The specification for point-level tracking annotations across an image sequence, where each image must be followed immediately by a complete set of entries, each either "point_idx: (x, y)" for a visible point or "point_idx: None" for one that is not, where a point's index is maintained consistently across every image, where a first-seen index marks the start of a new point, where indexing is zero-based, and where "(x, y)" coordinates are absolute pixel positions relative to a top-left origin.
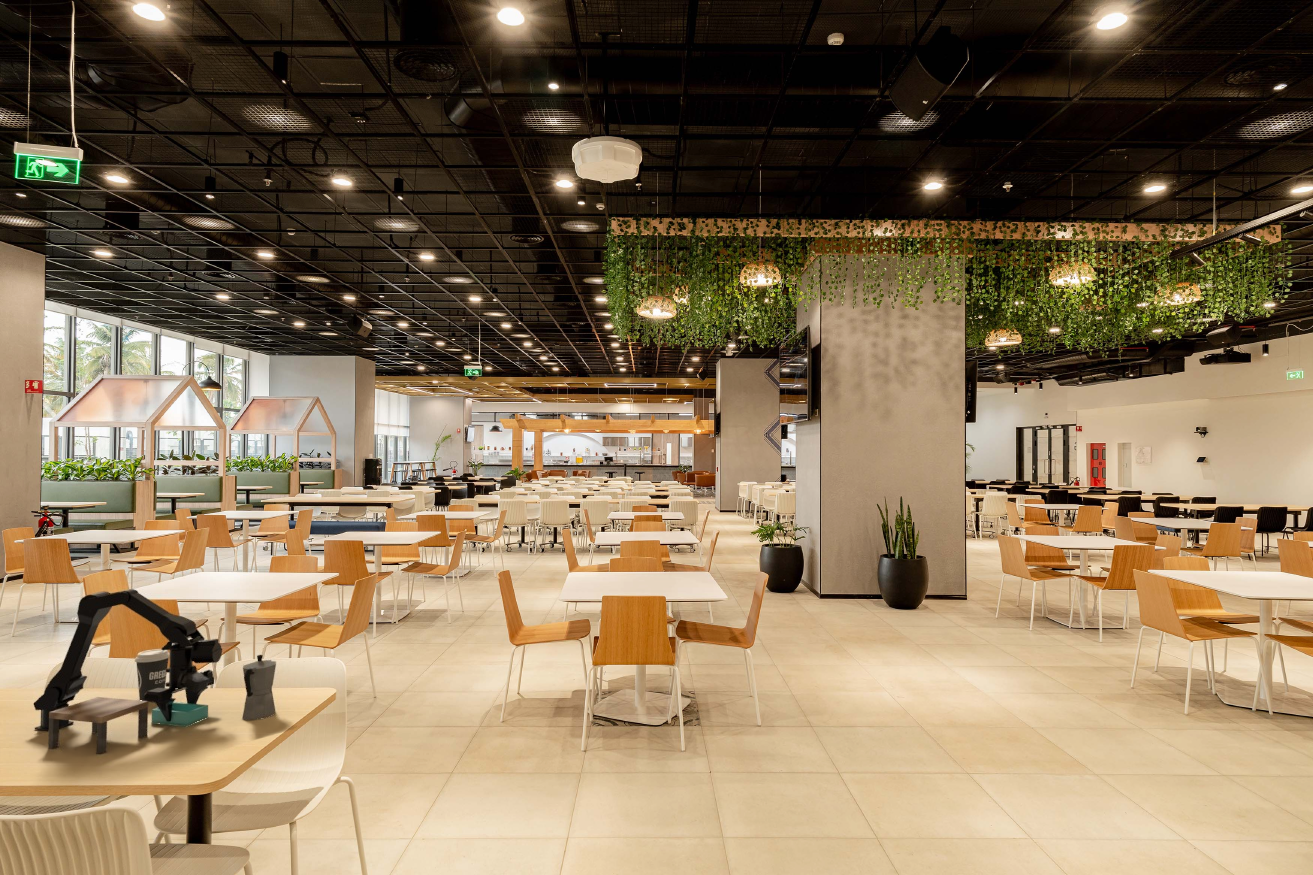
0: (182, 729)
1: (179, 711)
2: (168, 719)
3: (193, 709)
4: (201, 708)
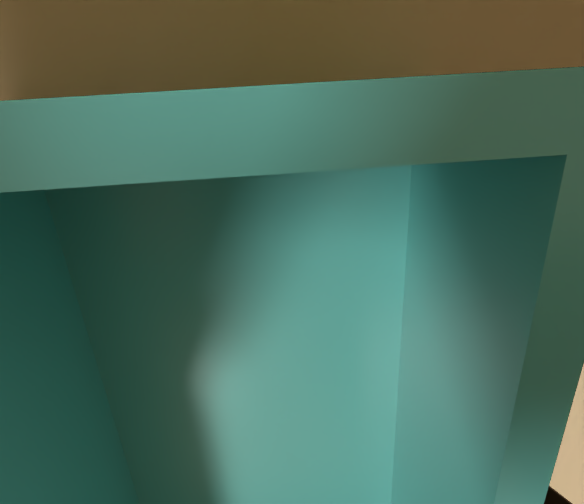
0: (581, 24)
1: (514, 431)
2: None
3: (52, 455)
4: (17, 101)
